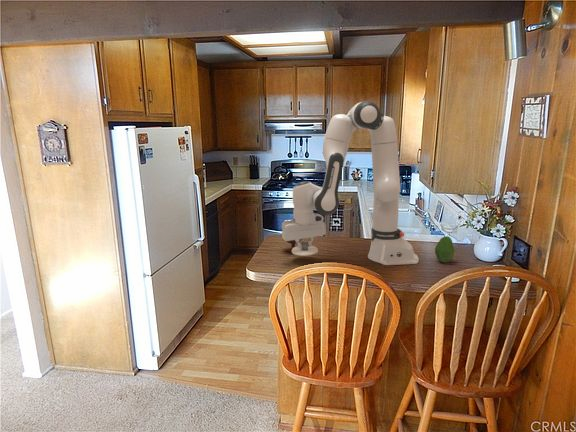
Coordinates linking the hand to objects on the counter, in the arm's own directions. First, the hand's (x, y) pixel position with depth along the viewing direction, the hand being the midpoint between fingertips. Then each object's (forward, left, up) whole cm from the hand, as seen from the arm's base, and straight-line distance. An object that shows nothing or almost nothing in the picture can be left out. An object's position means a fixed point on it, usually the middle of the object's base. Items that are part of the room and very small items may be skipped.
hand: (304, 247), depth 168 cm
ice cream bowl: (+7, -13, -7) cm, 16 cm away
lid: (0, 0, -2) cm, 2 cm away
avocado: (-62, -4, -7) cm, 63 cm away
